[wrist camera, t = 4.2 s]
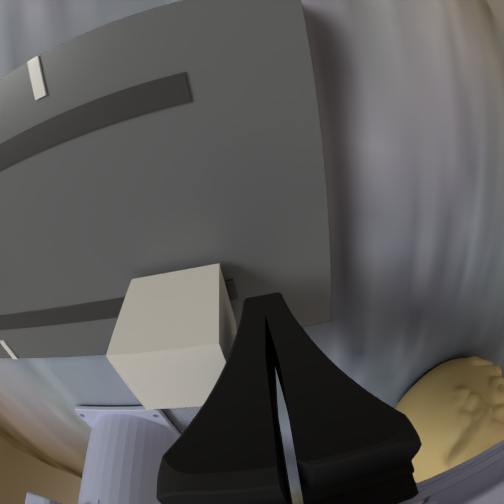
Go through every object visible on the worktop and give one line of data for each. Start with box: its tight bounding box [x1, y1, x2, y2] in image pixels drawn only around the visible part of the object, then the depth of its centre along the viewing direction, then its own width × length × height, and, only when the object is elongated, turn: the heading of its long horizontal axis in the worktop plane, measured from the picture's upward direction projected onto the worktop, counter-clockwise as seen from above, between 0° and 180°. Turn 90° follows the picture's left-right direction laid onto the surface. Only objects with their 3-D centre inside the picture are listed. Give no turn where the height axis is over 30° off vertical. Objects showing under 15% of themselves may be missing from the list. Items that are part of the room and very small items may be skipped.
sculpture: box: [395, 356, 504, 483], centre depth 19 cm, size 12×12×11 cm
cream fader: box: [106, 263, 237, 409], centre depth 11 cm, size 3×4×4 cm
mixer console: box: [0, 0, 332, 359], centre depth 12 cm, size 14×28×2 cm, turn 100°
